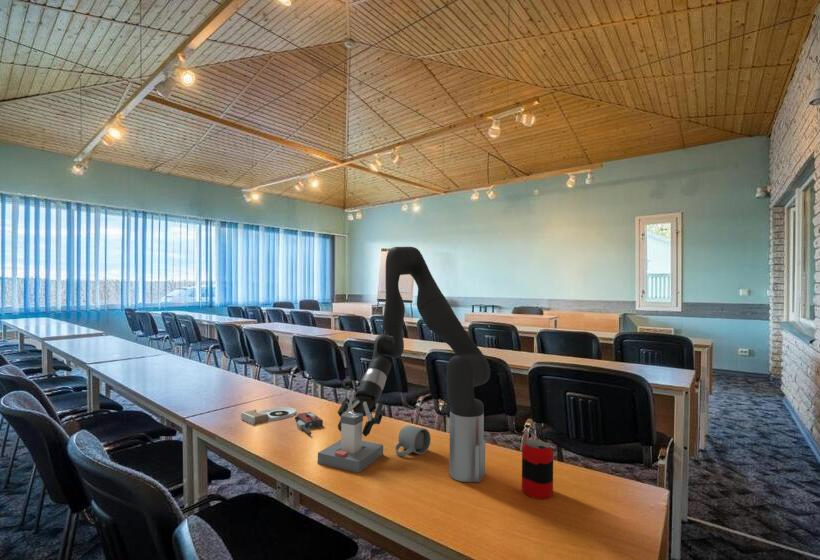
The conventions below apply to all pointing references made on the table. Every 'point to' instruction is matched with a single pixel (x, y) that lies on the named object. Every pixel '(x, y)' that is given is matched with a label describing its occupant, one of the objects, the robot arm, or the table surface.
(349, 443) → the plug
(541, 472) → the soda can
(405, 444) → the ceramic mug
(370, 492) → the table surface
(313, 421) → the walkie-talkie
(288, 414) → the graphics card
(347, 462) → the socket
